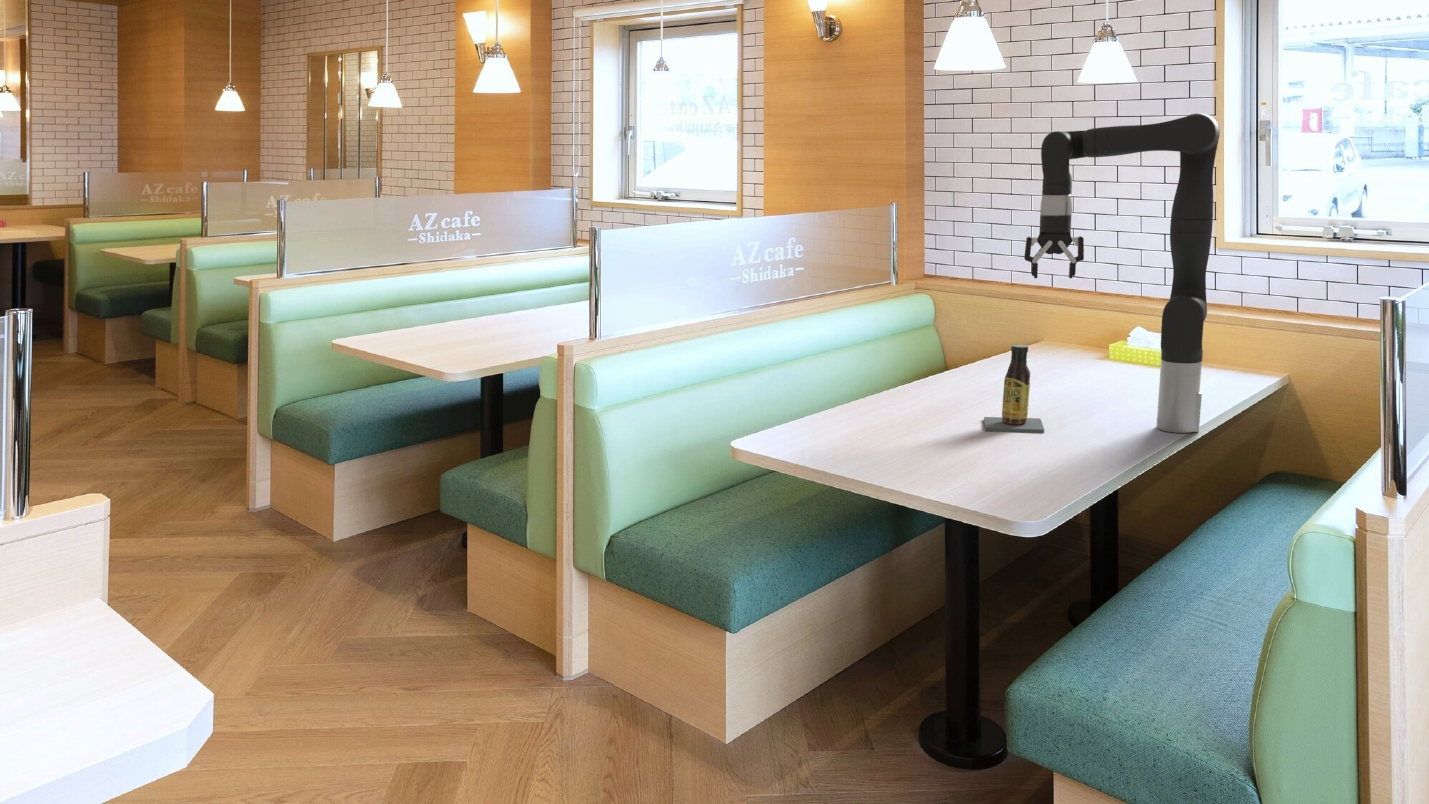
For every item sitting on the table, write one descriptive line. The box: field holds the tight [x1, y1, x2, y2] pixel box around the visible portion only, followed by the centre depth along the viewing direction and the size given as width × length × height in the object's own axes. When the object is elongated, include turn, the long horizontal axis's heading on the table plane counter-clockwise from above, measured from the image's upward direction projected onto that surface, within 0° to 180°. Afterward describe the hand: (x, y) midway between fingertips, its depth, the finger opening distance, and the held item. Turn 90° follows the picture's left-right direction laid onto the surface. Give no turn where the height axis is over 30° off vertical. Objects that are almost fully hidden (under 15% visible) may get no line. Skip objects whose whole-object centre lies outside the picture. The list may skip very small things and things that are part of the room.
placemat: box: [983, 416, 1045, 434], centre depth 276 cm, size 14×12×1 cm
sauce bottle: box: [1001, 343, 1031, 425], centre depth 274 cm, size 7×6×20 cm
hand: (1052, 278), depth 278 cm, fingers open, 8 cm apart
